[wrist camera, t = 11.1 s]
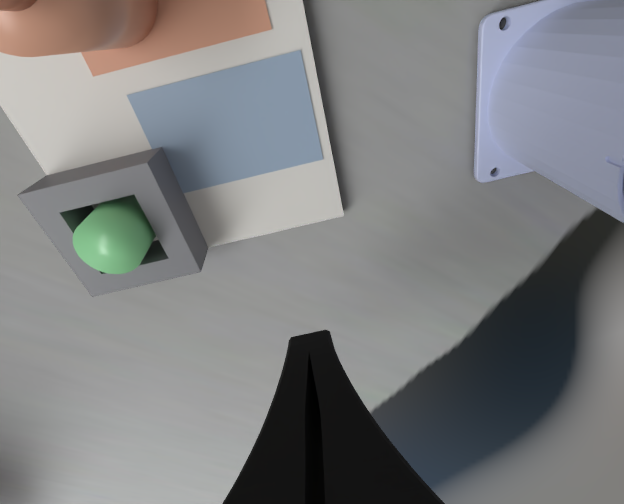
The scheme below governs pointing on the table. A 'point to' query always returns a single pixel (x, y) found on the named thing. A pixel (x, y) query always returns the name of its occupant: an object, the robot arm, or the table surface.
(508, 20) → the robot arm
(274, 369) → the table surface
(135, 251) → the button
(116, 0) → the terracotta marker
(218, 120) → the picture board
